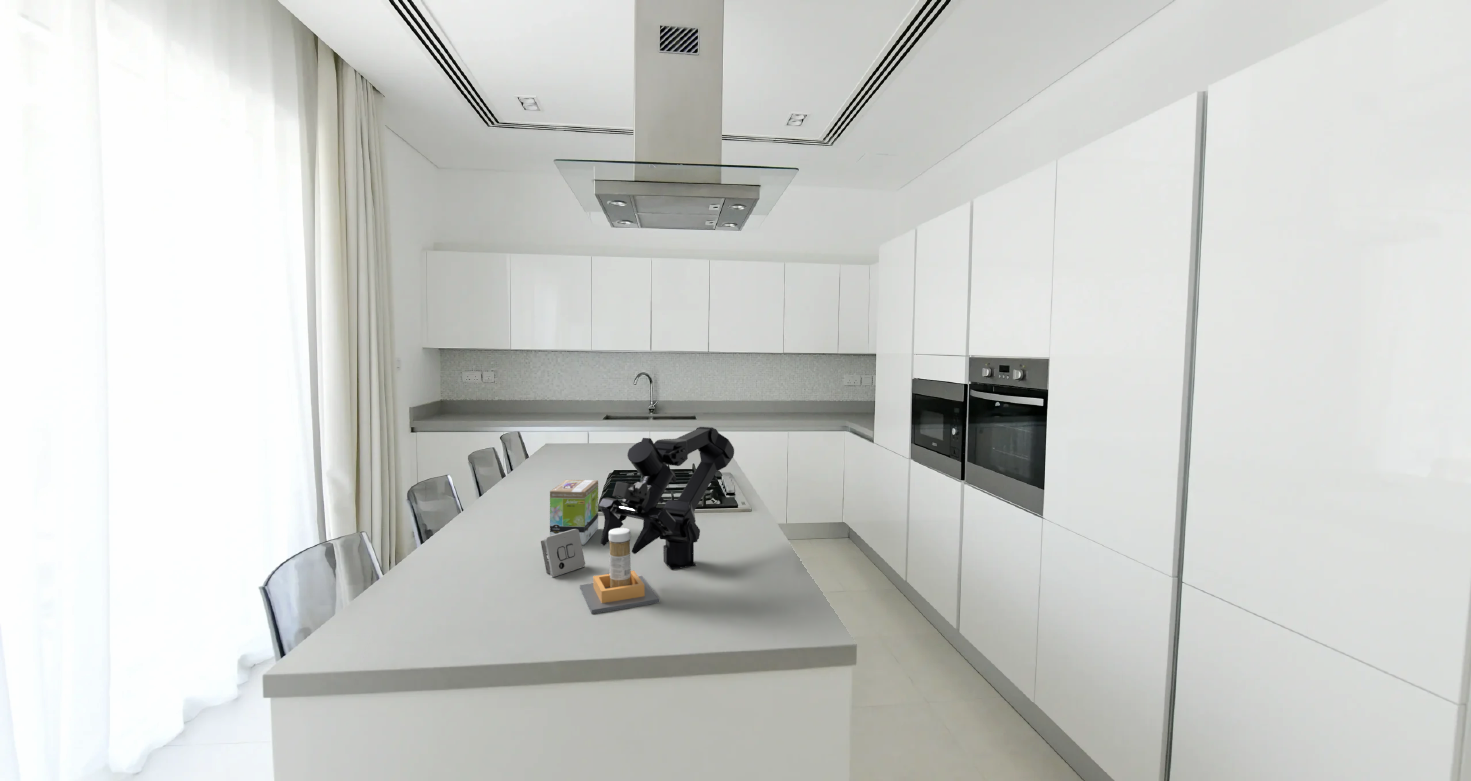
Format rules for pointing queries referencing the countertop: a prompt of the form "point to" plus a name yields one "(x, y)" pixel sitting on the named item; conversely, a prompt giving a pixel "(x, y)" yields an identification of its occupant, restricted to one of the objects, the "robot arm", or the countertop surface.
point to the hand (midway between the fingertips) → (617, 548)
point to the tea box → (574, 508)
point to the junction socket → (617, 594)
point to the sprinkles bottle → (619, 557)
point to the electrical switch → (563, 552)
